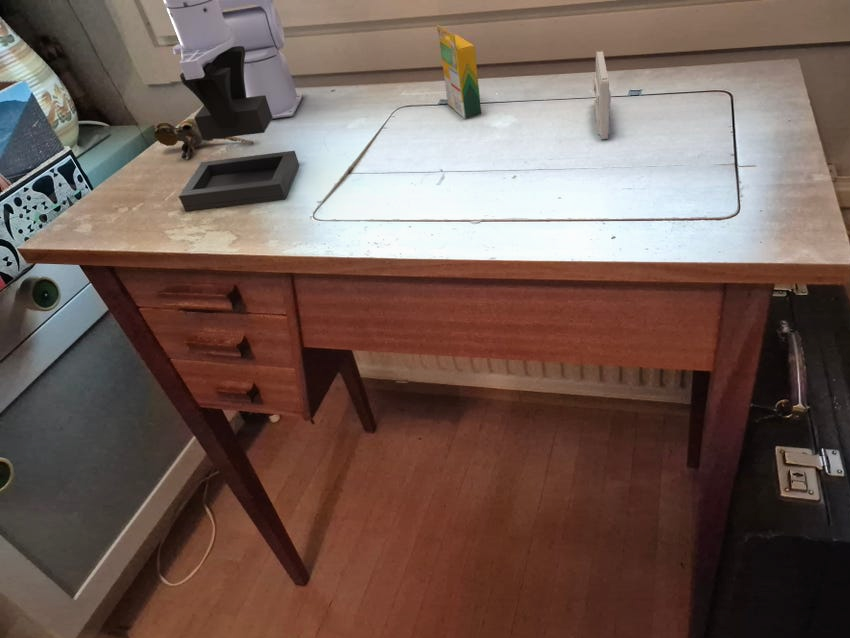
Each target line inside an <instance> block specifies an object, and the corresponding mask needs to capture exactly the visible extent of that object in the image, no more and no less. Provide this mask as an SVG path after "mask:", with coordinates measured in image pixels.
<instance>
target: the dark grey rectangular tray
mask: <svg viewBox="0 0 850 638" xmlns="http://www.w3.org/2000/svg"><path fill="white" fill-rule="evenodd" d="M299 168H300V162H299V159H298V155H297V153H296V150H289V151H279V152H272V153H263V154H256V155H248V156H247V155H246V156H239V157H232V158H223V159H215V160H205V161H201V162H200V163H199V165H198V166H197V168H196V170H195V171H194V172H193V174H192V175H191V176H190V178H189V180H188V181H187V183H186V184H185V186H184V187H183V188H182V190H181V191H180V193H179V195H178V198H179V200H180V202H181V204H182V207H183V209H184V212H190V211H199V210H207V209H215V208H216V209H217V208H224V207H231V206H232V207H233V206H240V205H249V204H258V203H266V202H267V203H268V202H274V201H283V200H286V199H287V196H288V193H289V191H290V189H291V187H292V184H293V182H294V180H295V177H296V175H297V172H298V170H299Z"/></svg>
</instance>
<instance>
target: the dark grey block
mask: <svg viewBox="0 0 850 638" xmlns="http://www.w3.org/2000/svg"><path fill="white" fill-rule="evenodd" d="M232 102H233V106H234V110H235V114H236V120H237V125H236V127H231V128H224V129H220V128H219V126H218V125H217V124H216V122H215V121H214V119H213V118H212V116H211V115H210V113H209V112H208V110H207V109H206V107H205V106H204V105H202V107H201V108H200V109H199V111H198V112H197V113H196V114H195V116H194V117H193V119H195V121H196V123H197V126H198V128H199V131H200V133H201V136H202V138H203V141H207V140H211V139H213V140H220V139H219V138H226V137H240V136H241V137H242V136H249V135H258V134H264V133H265V132H266V130H267V129H268V127H269V125H270V124H271V122H272V120H273V119H272V118H273V117H272V114H271V111H270V108H269V105H268V102H267V99H266V96H265V95H262V96H255V97H247V98H240V99H232Z"/></svg>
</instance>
